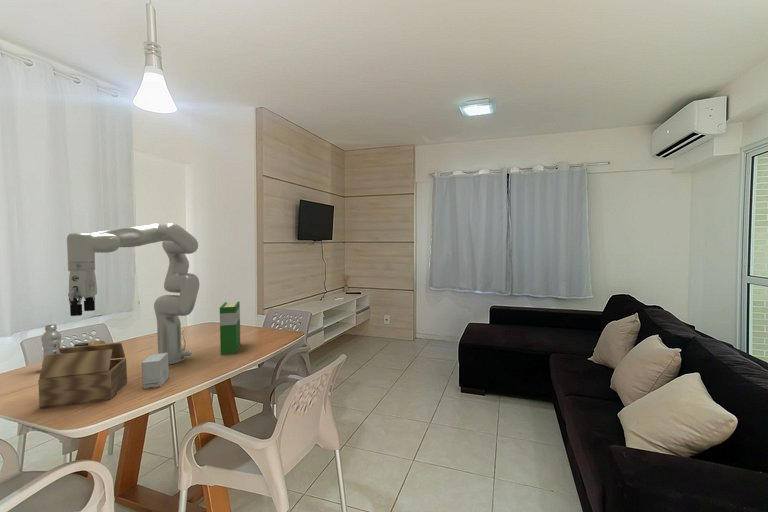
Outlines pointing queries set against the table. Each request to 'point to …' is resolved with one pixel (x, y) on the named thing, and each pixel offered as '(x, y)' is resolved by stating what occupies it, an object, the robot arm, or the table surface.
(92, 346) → the right flap
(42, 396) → the carton
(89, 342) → the bread roll
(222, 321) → the hardback book
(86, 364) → the left flap
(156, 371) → the skincare box
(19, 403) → the table surface
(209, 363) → the table surface
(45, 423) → the table surface
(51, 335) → the plastic bottle
